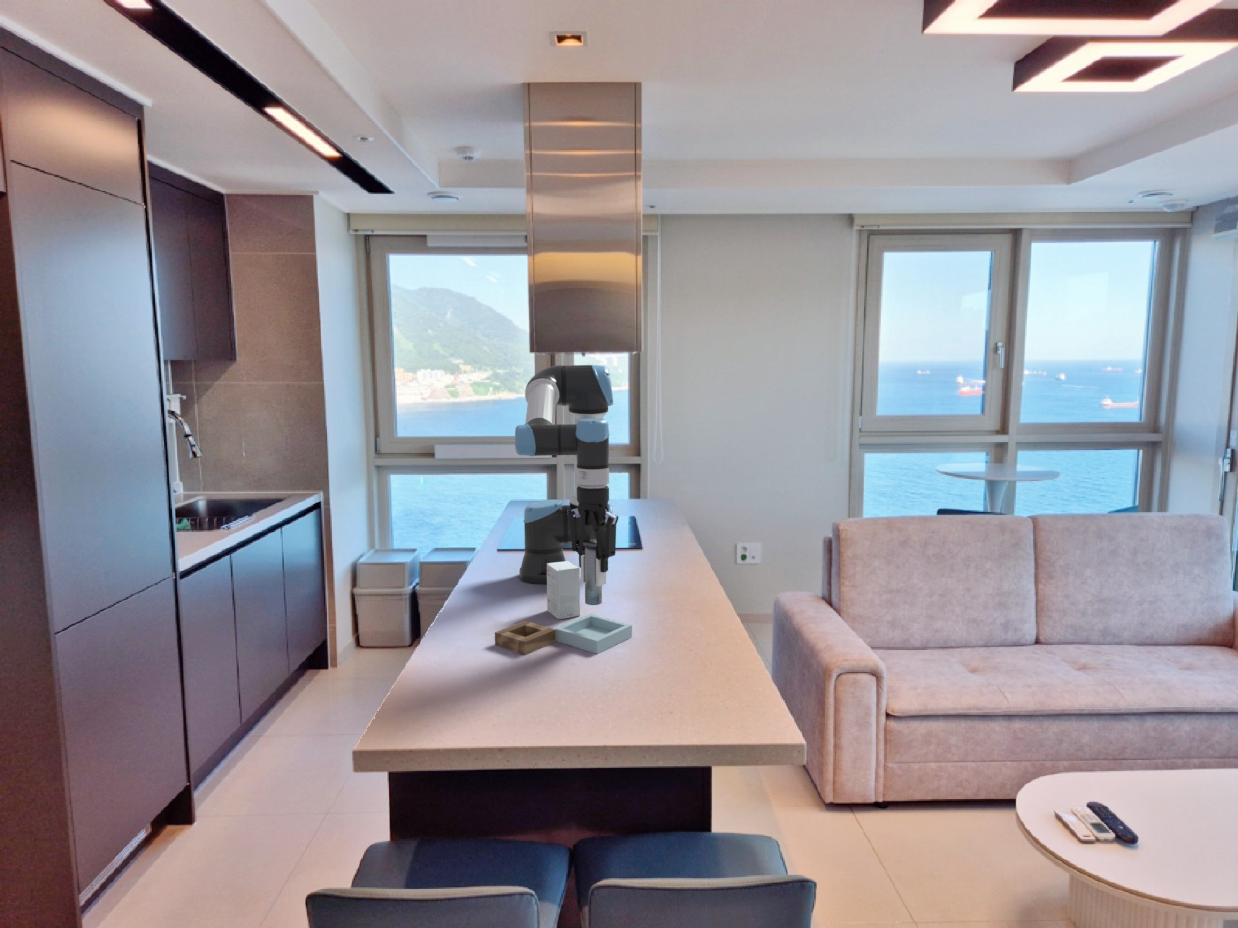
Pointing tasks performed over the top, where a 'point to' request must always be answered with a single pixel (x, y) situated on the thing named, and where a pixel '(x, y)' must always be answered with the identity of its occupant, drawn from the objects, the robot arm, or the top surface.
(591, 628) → the tray
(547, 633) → the socket block
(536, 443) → the robot arm
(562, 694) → the top surface
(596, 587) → the pin
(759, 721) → the top surface
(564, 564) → the small box
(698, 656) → the top surface
